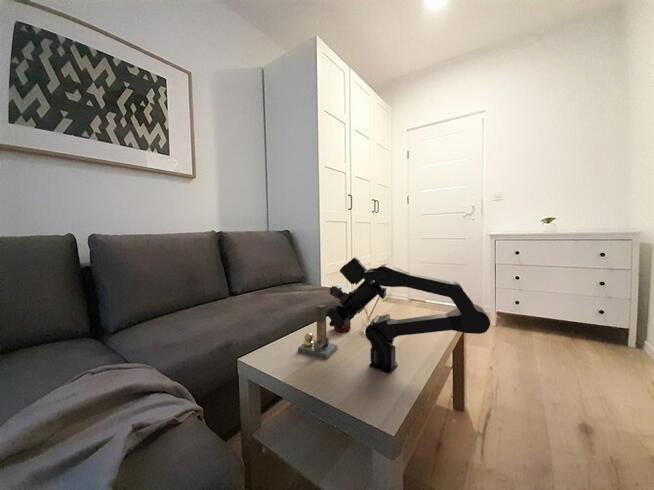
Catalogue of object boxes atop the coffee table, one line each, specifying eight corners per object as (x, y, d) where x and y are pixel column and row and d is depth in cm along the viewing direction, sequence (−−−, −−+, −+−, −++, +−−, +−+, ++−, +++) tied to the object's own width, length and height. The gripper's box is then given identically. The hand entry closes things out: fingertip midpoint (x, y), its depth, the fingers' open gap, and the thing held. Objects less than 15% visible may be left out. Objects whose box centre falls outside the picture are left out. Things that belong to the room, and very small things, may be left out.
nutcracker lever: (326, 345, 85) (326, 305, 84) (322, 348, 82) (321, 307, 82) (321, 344, 86) (320, 304, 85) (316, 347, 83) (316, 306, 83)
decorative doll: (341, 334, 98) (340, 296, 97) (329, 329, 103) (329, 293, 103) (354, 329, 103) (354, 293, 102) (342, 324, 108) (342, 290, 108)
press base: (337, 349, 86) (337, 333, 85) (327, 359, 79) (326, 342, 79) (309, 342, 91) (309, 328, 91) (298, 351, 84) (297, 336, 84)
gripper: (355, 271, 87) (328, 299, 93) (332, 280, 71) (299, 313, 76) (378, 296, 84) (347, 323, 89) (358, 312, 67) (322, 344, 73)
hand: (330, 325), depth 82 cm, fingers closed
